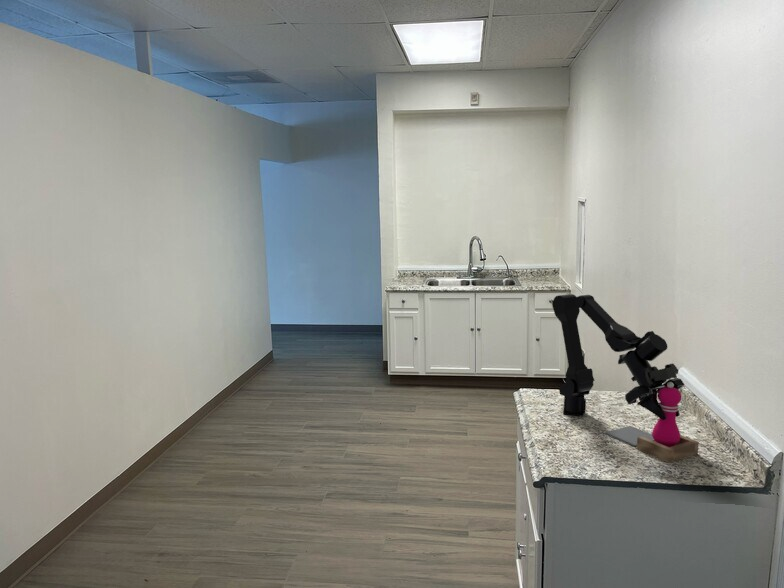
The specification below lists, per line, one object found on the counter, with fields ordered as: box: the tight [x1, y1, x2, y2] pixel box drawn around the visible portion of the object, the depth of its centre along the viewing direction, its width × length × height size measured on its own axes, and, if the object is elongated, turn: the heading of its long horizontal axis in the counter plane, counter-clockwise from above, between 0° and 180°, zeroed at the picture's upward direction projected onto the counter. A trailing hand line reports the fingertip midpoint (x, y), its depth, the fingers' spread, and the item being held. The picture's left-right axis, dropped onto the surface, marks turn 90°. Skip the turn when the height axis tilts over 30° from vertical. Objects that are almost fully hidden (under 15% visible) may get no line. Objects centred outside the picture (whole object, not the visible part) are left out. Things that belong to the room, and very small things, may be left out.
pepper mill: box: [651, 382, 682, 447], centre depth 169 cm, size 7×7×20 cm
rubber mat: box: [604, 425, 655, 448], centre depth 180 cm, size 11×11×1 cm
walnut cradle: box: [636, 434, 700, 464], centre depth 169 cm, size 10×12×4 cm
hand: (671, 417), depth 167 cm, fingers closed on pepper mill, 5 cm apart
